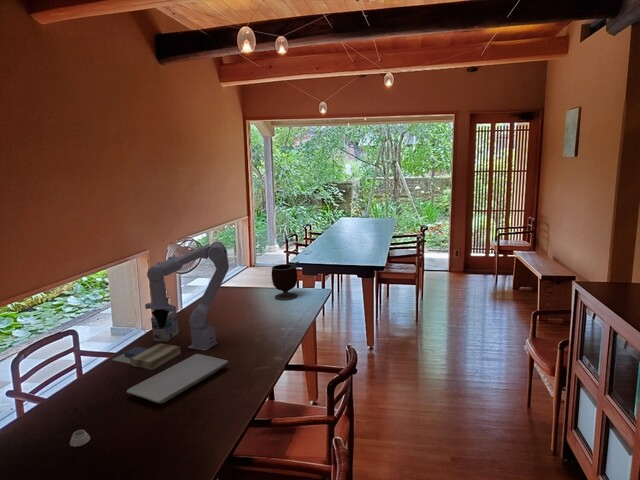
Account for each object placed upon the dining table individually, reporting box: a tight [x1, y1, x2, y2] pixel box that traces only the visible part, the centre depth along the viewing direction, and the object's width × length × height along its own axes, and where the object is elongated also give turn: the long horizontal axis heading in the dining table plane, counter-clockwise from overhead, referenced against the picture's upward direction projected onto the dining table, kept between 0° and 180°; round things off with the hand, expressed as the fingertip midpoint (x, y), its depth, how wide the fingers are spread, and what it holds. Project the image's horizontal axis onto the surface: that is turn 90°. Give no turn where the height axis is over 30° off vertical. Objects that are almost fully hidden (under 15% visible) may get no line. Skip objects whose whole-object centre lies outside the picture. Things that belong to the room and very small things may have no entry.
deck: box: [130, 342, 182, 371], centre depth 177 cm, size 11×15×3 cm
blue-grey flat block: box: [123, 346, 149, 358], centre depth 182 cm, size 8×6×2 cm
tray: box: [126, 353, 229, 404], centre depth 157 cm, size 17×32×4 cm, turn 148°
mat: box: [111, 353, 131, 365], centre depth 182 cm, size 11×13×1 cm
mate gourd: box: [271, 260, 300, 302], centre depth 247 cm, size 16×14×20 cm
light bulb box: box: [150, 310, 180, 342], centre depth 200 cm, size 11×7×11 cm, turn 168°
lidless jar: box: [69, 429, 91, 448], centre depth 126 cm, size 5×3×5 cm
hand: (162, 326), depth 185 cm, fingers closed
